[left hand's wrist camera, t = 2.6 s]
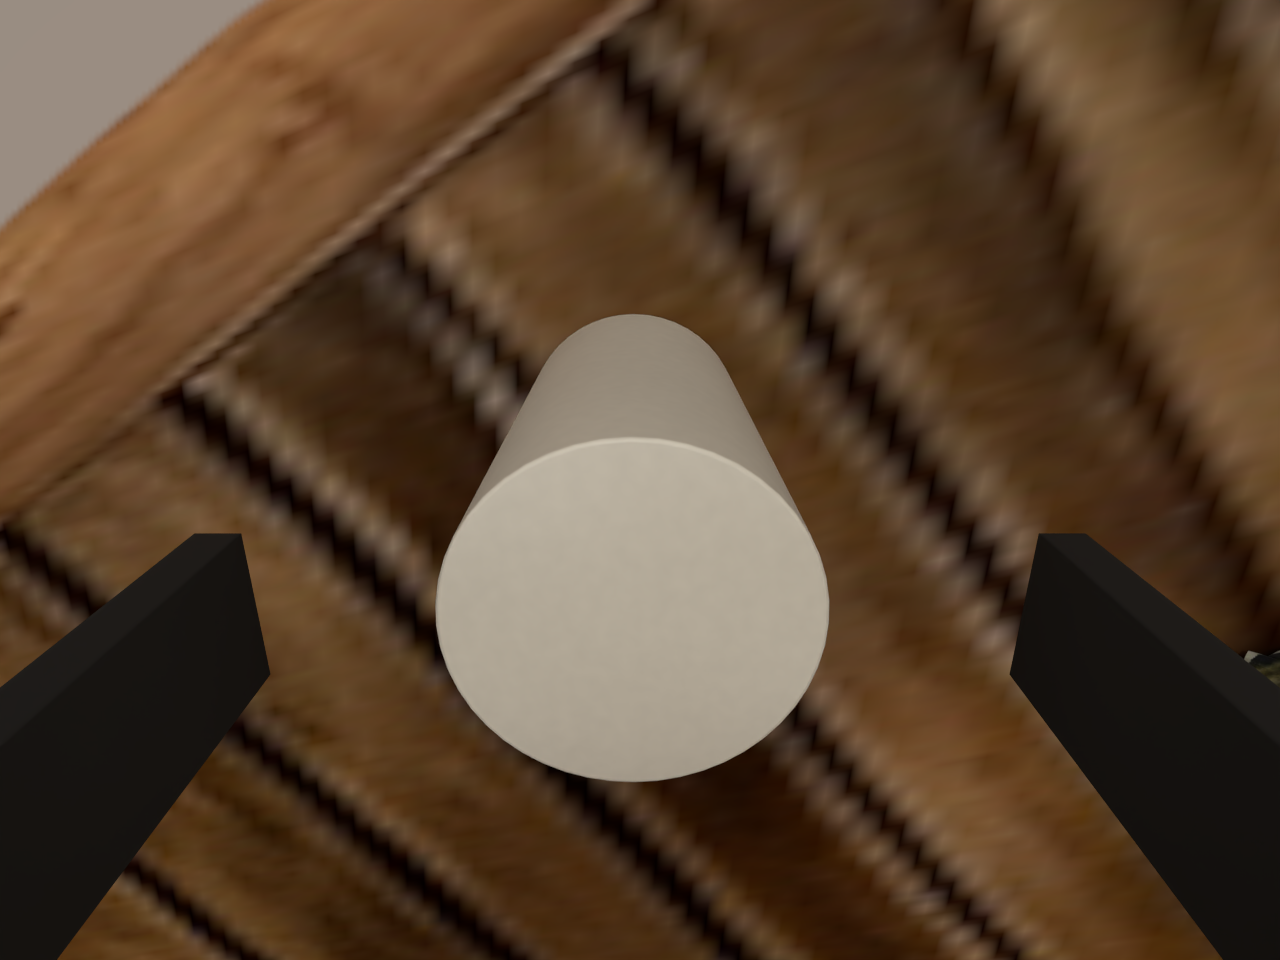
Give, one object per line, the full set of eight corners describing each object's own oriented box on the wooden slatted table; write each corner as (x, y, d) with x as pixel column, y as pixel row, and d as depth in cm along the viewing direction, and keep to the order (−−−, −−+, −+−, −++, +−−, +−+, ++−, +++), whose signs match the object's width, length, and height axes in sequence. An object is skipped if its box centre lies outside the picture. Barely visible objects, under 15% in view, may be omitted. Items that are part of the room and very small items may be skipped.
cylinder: (526, 314, 24) (414, 438, 12) (740, 313, 24) (847, 436, 12) (536, 512, 26) (452, 785, 14) (732, 511, 26) (815, 782, 14)
